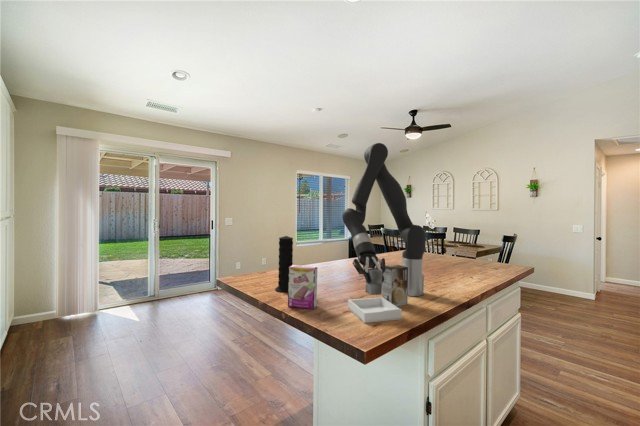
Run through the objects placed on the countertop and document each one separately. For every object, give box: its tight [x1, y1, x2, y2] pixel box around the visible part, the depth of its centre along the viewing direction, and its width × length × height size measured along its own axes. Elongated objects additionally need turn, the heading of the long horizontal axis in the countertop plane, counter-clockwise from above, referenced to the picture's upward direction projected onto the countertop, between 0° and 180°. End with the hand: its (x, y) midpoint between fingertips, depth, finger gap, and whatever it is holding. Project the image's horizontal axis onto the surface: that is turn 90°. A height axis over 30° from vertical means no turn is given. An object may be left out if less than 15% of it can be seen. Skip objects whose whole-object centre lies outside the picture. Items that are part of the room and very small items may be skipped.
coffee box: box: [381, 264, 409, 307], centre depth 119 cm, size 9×6×16 cm
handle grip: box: [274, 235, 294, 294], centre depth 137 cm, size 10×26×10 cm
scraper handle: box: [365, 268, 382, 296], centre depth 107 cm, size 4×4×9 cm
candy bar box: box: [287, 264, 318, 310], centre depth 114 cm, size 11×5×16 cm, turn 78°
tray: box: [347, 296, 403, 324], centre depth 108 cm, size 15×15×4 cm
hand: (376, 282), depth 106 cm, fingers closed on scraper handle, 4 cm apart
